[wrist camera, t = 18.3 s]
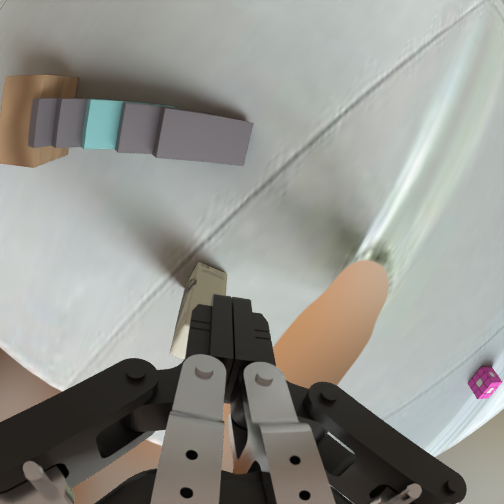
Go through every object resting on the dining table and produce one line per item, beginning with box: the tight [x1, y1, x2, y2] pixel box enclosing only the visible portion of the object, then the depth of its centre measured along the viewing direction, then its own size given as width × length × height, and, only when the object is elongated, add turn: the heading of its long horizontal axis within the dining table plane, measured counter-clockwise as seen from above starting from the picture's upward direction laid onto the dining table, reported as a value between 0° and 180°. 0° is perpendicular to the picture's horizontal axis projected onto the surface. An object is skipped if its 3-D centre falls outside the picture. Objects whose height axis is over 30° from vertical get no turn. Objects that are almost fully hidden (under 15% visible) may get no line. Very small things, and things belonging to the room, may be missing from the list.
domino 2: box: [52, 98, 87, 148], centre depth 29 cm, size 2×5×10 cm
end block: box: [0, 75, 79, 168], centre depth 28 cm, size 6×10×8 cm, turn 166°
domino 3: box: [81, 99, 177, 149], centre depth 30 cm, size 2×5×10 cm
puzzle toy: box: [468, 367, 502, 399], centre depth 56 cm, size 6×6×6 cm
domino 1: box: [28, 98, 109, 148], centre depth 28 cm, size 2×5×10 cm, turn 167°
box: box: [170, 262, 227, 360], centre depth 37 cm, size 5×4×13 cm
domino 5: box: [153, 107, 253, 166], centre depth 31 cm, size 2×5×10 cm
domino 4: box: [115, 102, 214, 154], centre depth 31 cm, size 2×5×10 cm
